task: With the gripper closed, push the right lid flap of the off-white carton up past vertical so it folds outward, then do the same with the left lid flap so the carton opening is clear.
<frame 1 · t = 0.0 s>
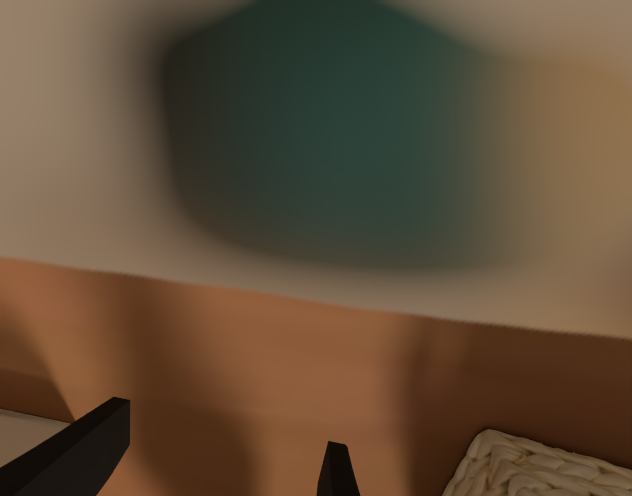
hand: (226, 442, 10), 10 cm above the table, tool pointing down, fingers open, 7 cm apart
carton: (7, 494, 27), on the table
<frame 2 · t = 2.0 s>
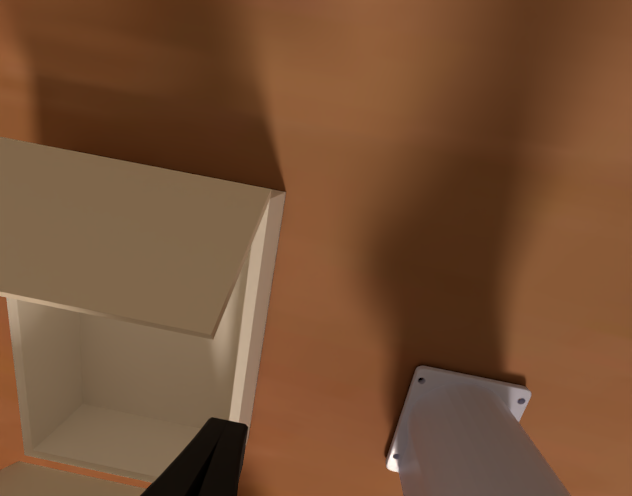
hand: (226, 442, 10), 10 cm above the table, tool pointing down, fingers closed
carton: (169, 311, 21), on the table
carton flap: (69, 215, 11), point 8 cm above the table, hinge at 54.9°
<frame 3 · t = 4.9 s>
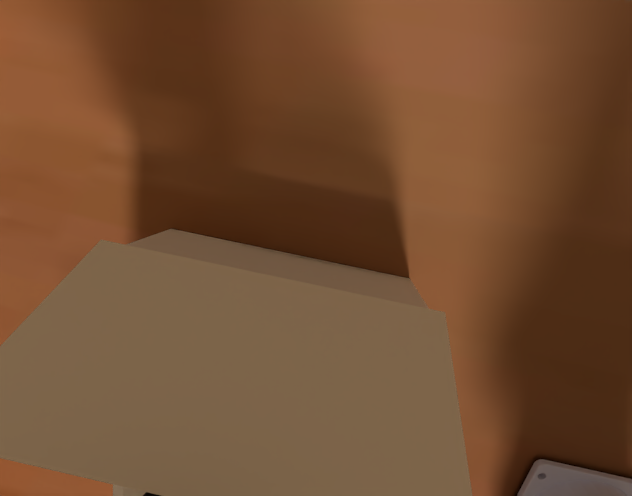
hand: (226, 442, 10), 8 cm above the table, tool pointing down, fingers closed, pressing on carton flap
carton: (264, 394, 19), on the table
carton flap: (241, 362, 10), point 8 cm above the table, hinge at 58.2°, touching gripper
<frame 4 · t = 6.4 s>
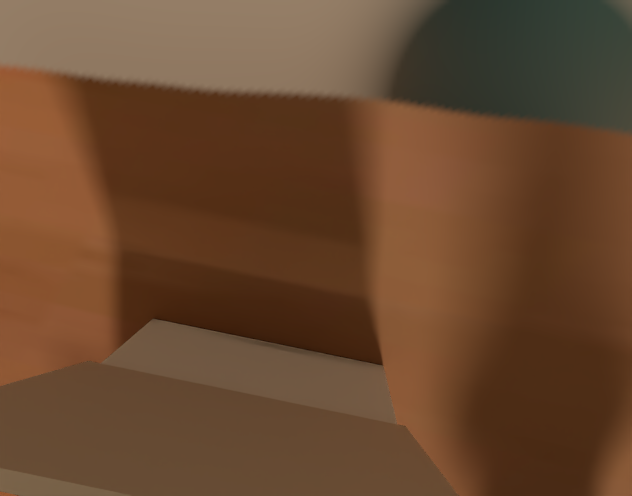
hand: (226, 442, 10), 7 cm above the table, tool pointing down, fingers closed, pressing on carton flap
carton: (247, 463, 20), on the table
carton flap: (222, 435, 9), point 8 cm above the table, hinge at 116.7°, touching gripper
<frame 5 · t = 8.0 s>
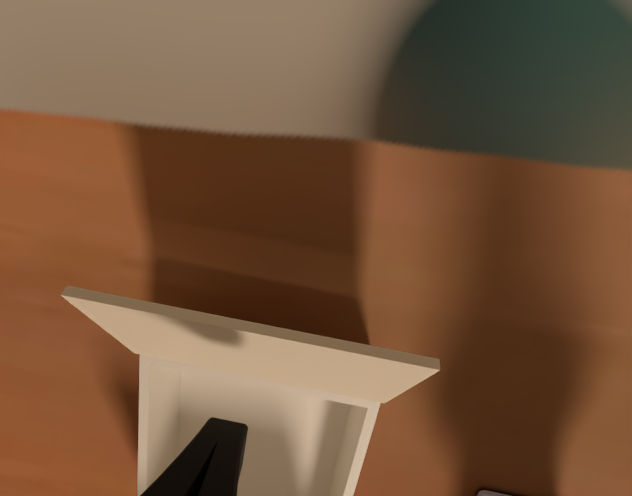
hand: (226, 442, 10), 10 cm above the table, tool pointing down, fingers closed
carton: (258, 441, 24), on the table
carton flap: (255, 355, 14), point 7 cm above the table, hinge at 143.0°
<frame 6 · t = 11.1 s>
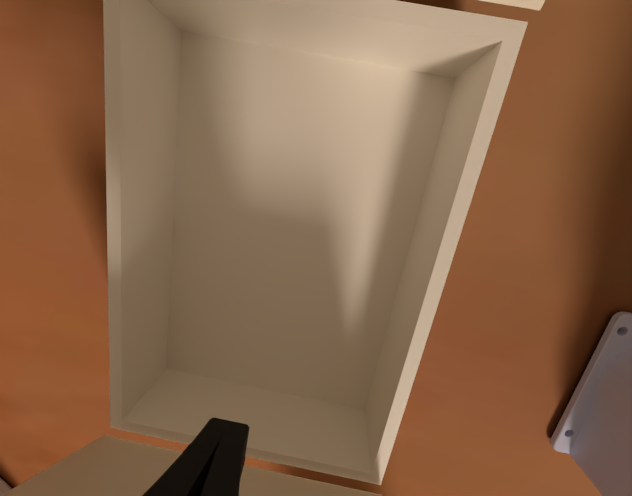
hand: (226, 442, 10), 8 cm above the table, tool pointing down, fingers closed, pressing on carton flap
carton: (288, 245, 16), on the table
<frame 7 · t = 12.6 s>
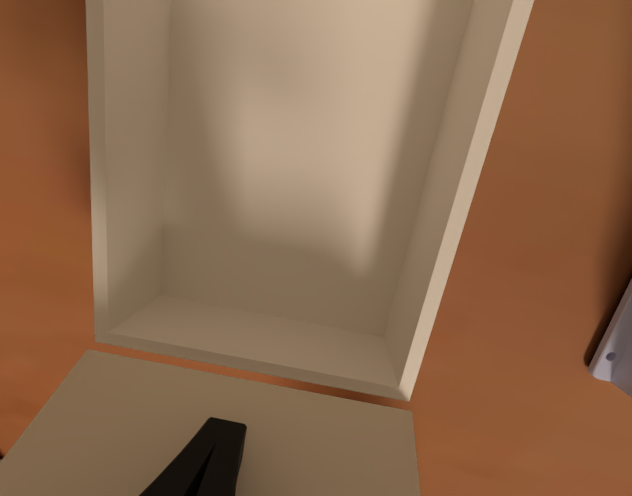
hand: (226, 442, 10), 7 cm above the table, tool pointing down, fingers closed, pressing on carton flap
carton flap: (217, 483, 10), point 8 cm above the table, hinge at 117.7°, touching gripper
carton: (298, 142, 15), on the table
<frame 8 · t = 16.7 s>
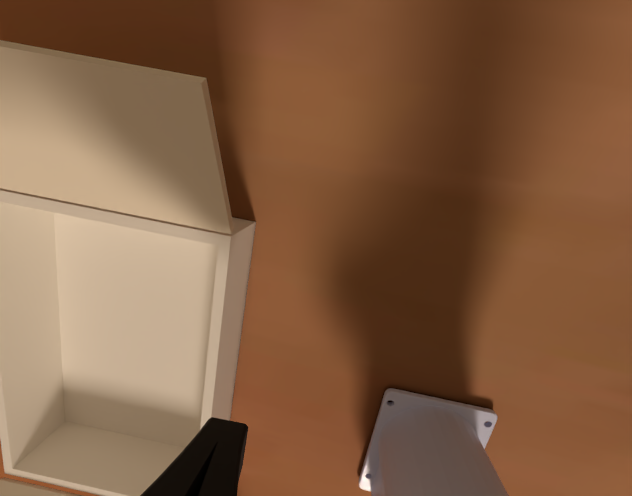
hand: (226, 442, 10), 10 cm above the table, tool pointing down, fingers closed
carton: (147, 333, 22), on the table
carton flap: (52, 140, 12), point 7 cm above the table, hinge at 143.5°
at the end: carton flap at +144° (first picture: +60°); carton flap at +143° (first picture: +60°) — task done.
